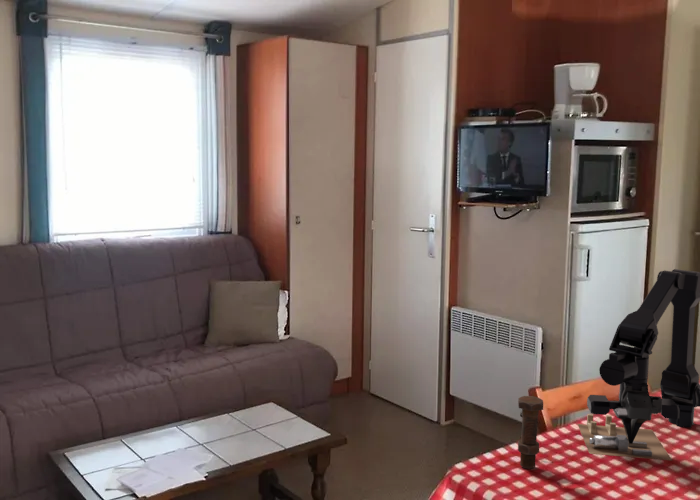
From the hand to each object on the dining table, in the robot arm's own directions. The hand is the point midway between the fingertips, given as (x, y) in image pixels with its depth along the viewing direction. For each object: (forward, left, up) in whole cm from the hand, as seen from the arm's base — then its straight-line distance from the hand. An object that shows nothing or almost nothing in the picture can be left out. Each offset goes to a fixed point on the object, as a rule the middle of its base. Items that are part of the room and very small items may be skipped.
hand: (630, 442), depth 159 cm
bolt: (+12, -23, -3) cm, 26 cm away
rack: (-11, -4, -2) cm, 12 cm away
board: (-5, -1, -3) cm, 6 cm away
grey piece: (0, -5, -2) cm, 5 cm away
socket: (0, +2, -2) cm, 3 cm away
